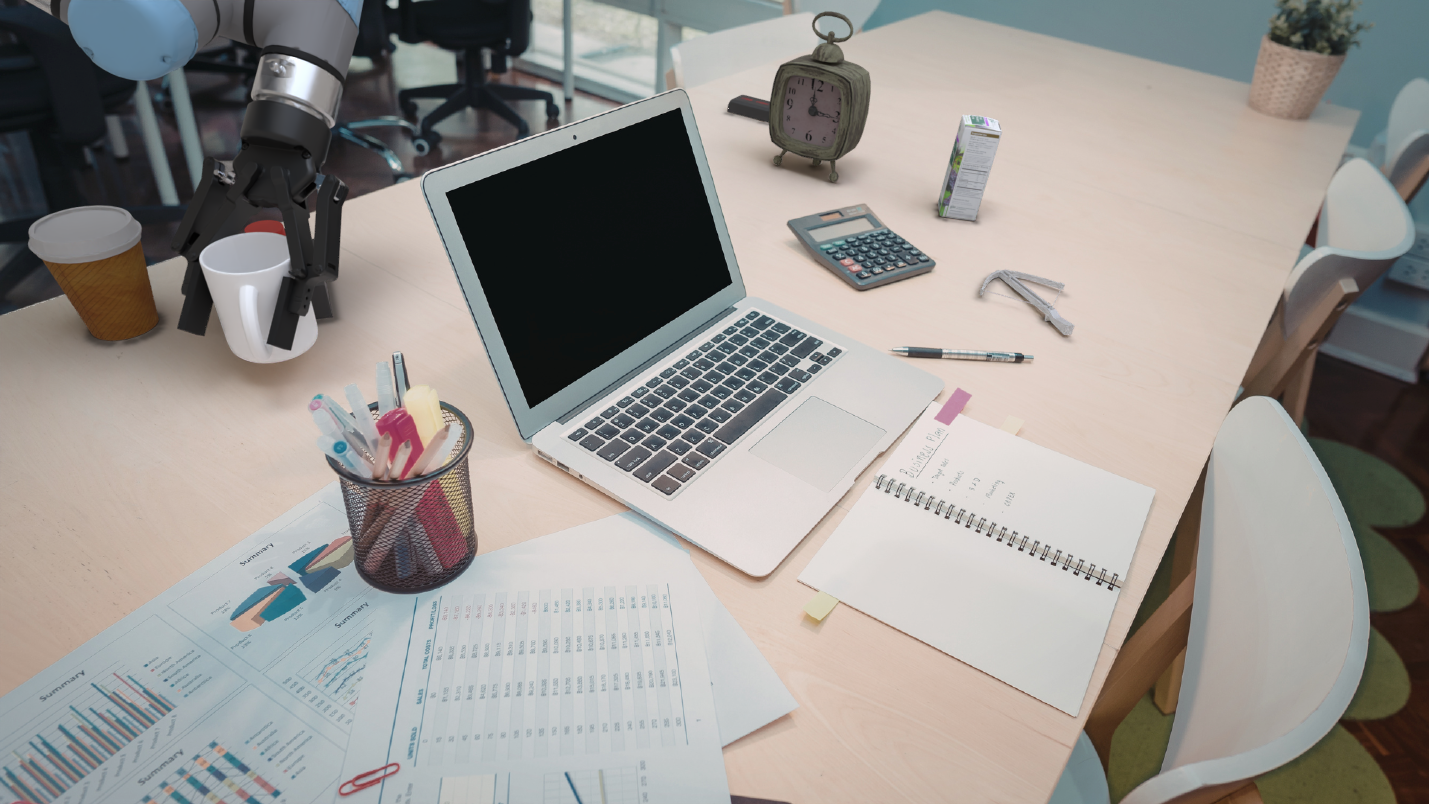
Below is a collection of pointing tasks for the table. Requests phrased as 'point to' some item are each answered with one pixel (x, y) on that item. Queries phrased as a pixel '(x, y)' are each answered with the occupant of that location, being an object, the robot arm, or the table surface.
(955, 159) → the syrup box
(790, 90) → the tabletop clock
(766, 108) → the usb drive
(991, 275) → the crossbow
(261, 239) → the mug
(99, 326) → the disposable coffee cup
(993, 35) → the table surface
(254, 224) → the button
